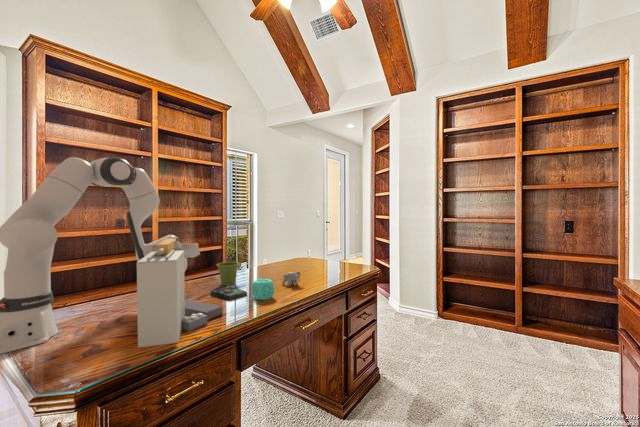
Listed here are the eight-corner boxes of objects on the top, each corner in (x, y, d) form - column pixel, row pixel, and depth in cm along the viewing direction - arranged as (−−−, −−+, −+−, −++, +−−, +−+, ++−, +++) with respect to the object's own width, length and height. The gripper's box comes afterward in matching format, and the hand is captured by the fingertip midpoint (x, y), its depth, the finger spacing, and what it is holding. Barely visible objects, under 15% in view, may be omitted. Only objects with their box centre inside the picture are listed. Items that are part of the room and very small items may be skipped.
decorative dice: (267, 294, 151) (267, 278, 151) (274, 298, 144) (274, 281, 144) (251, 297, 146) (251, 280, 146) (258, 301, 140) (258, 283, 140)
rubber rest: (206, 320, 116) (206, 312, 116) (170, 312, 125) (170, 304, 125) (222, 313, 123) (222, 306, 123) (187, 306, 132) (187, 299, 132)
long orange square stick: (163, 258, 96) (163, 247, 96) (151, 259, 95) (151, 248, 95) (176, 246, 124) (175, 238, 124) (166, 247, 123) (166, 238, 123)
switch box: (189, 331, 106) (189, 320, 106) (179, 328, 108) (179, 317, 108) (207, 323, 113) (207, 313, 113) (197, 321, 116) (197, 310, 116)
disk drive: (210, 296, 150) (229, 301, 141) (210, 290, 150) (229, 295, 141) (228, 291, 158) (247, 296, 149) (228, 286, 158) (247, 290, 149)
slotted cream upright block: (177, 342, 97) (176, 256, 97) (137, 347, 94) (136, 258, 93) (184, 318, 118) (184, 247, 118) (152, 321, 115) (151, 249, 114)
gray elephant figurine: (289, 283, 174) (288, 269, 174) (307, 284, 168) (306, 270, 168) (279, 287, 166) (278, 272, 166) (298, 288, 160) (297, 273, 160)
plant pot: (232, 280, 179) (232, 260, 179) (243, 284, 171) (242, 263, 170) (213, 283, 171) (212, 263, 171) (222, 288, 163) (222, 266, 162)
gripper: (200, 261, 133) (198, 249, 122) (146, 264, 127) (139, 251, 115) (200, 248, 136) (198, 234, 124) (148, 250, 130) (141, 236, 118)
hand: (169, 242), depth 120 cm, fingers closed on long orange square stick, 3 cm apart
